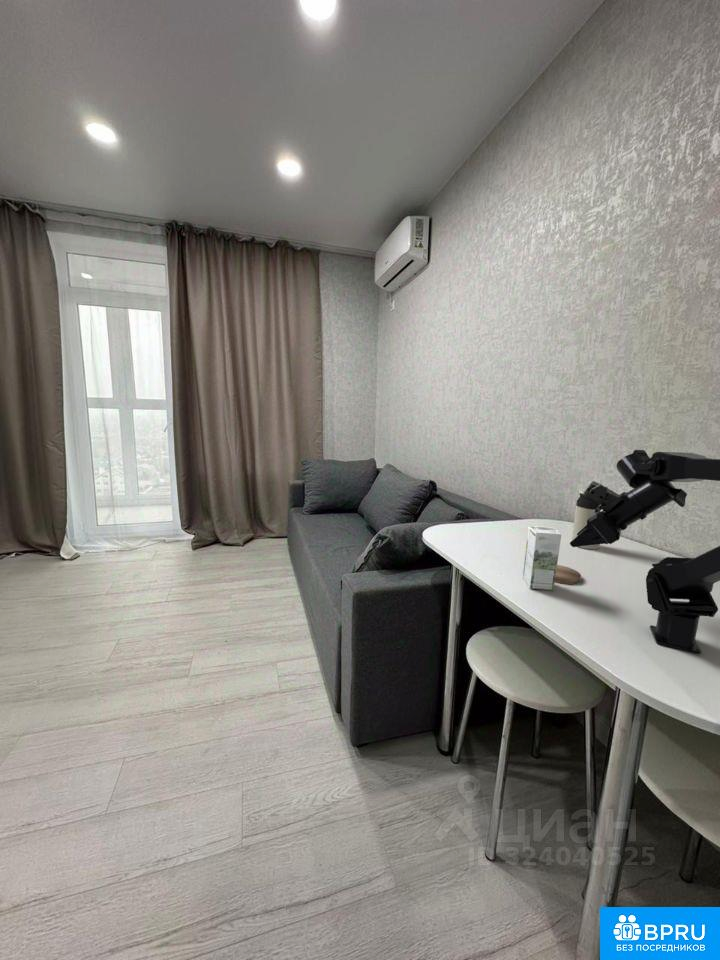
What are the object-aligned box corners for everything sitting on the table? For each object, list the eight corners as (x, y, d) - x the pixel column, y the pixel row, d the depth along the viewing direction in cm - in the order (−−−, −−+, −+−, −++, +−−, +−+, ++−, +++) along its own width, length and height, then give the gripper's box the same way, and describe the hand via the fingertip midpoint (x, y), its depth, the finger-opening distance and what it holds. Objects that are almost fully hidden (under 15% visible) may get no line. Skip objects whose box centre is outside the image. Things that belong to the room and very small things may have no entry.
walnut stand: (581, 587, 93) (581, 582, 93) (536, 578, 98) (537, 573, 98) (579, 573, 102) (580, 568, 102) (538, 565, 107) (539, 561, 107)
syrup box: (545, 581, 96) (551, 526, 94) (554, 591, 91) (561, 533, 88) (522, 579, 97) (527, 524, 95) (529, 589, 91) (536, 531, 89)
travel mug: (594, 551, 120) (602, 495, 117) (567, 545, 125) (574, 491, 122) (602, 546, 125) (610, 492, 122) (576, 540, 131) (582, 488, 128)
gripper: (616, 467, 89) (559, 505, 98) (607, 475, 75) (540, 519, 83) (653, 505, 86) (590, 541, 94) (651, 522, 71) (577, 563, 80)
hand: (574, 540), depth 88 cm, fingers open, 9 cm apart
